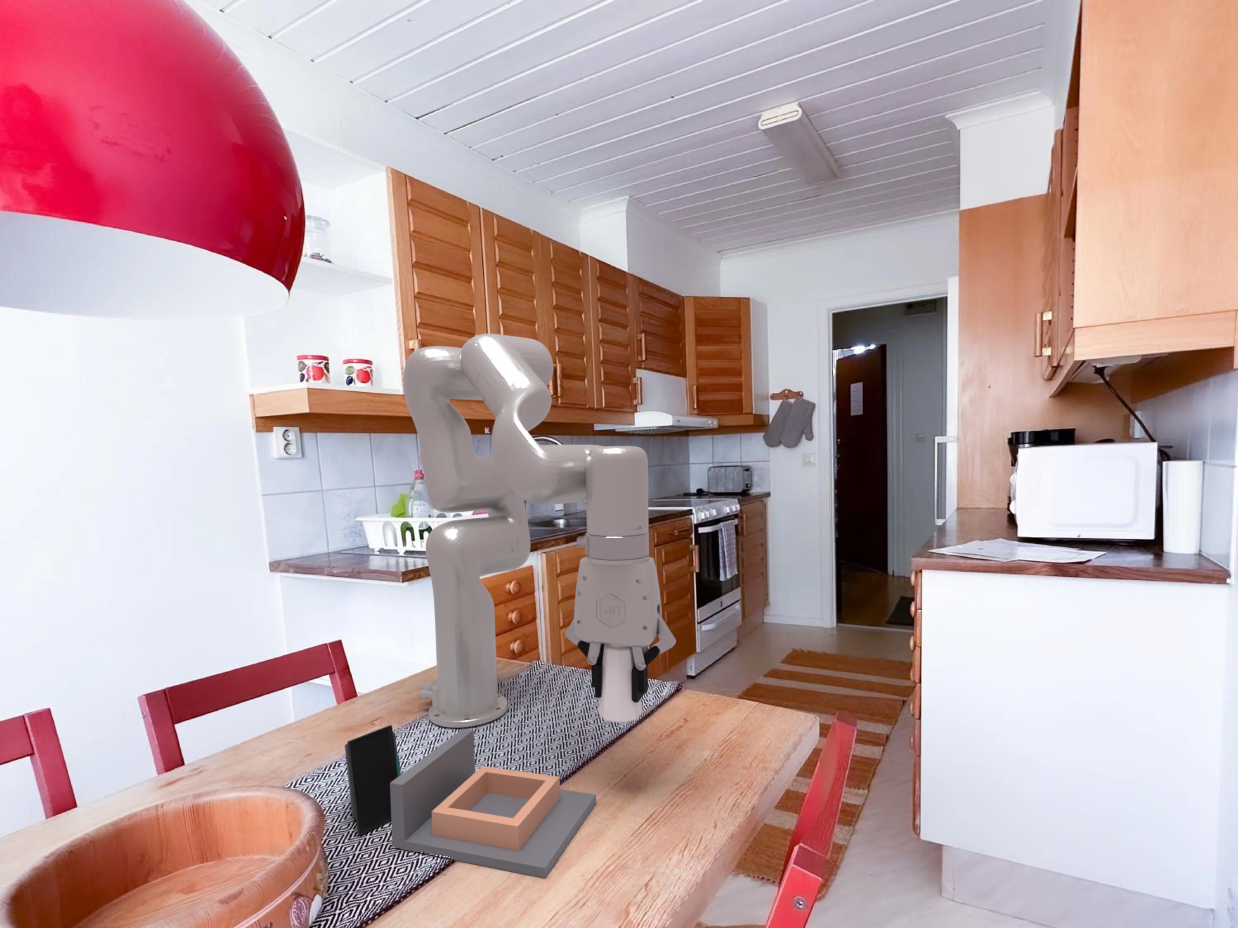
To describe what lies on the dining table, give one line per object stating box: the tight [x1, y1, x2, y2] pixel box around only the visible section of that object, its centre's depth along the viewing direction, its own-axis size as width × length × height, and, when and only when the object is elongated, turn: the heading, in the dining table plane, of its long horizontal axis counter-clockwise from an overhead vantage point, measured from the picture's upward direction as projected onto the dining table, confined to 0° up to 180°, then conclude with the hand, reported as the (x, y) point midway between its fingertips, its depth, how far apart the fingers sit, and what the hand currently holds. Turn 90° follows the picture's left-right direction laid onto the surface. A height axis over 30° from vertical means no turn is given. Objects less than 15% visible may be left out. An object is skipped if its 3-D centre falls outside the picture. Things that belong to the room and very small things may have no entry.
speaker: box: [344, 724, 402, 837], centre depth 75 cm, size 8×6×10 cm
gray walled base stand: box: [390, 728, 597, 879], centre depth 71 cm, size 18×14×7 cm
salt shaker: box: [597, 644, 643, 724], centre depth 77 cm, size 5×5×11 cm
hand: (619, 694), depth 78 cm, fingers closed on salt shaker, 4 cm apart
